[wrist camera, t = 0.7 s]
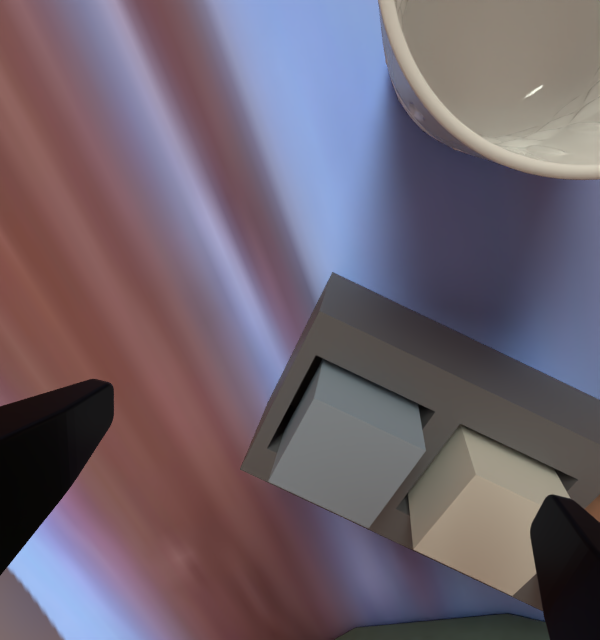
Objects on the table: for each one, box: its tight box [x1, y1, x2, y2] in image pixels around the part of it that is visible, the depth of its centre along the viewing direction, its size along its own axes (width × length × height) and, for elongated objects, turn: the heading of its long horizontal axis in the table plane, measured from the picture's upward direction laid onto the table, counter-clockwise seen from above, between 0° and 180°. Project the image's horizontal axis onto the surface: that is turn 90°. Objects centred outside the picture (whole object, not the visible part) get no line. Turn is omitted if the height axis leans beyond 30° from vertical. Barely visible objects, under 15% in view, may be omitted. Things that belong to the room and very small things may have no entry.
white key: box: [408, 424, 571, 596], centre depth 16 cm, size 4×4×3 cm
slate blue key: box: [268, 359, 426, 528], centre depth 16 cm, size 4×4×3 cm
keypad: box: [240, 272, 600, 611], centre depth 19 cm, size 18×8×5 cm, turn 66°
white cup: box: [378, 0, 600, 180], centre depth 11 cm, size 8×8×10 cm
